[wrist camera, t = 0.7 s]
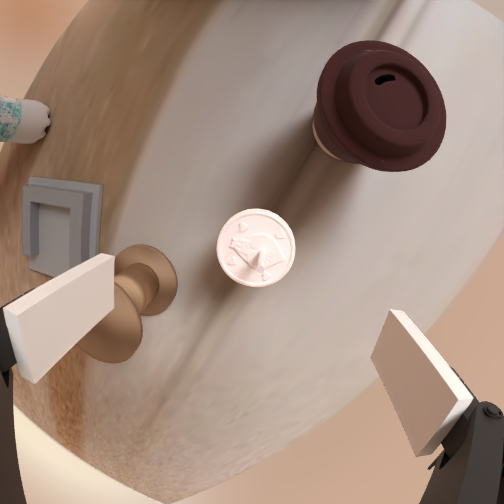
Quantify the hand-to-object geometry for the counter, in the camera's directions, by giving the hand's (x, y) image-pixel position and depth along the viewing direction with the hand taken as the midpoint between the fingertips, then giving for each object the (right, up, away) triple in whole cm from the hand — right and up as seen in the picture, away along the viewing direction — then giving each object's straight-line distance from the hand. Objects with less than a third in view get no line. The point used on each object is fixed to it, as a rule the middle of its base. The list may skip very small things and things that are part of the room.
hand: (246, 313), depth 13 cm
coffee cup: (+10, +16, +17) cm, 25 cm away
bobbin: (-13, -1, +22) cm, 26 cm away
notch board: (-26, +6, +21) cm, 34 cm away
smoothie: (+1, +5, +20) cm, 21 cm away
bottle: (-30, +21, +18) cm, 41 cm away
